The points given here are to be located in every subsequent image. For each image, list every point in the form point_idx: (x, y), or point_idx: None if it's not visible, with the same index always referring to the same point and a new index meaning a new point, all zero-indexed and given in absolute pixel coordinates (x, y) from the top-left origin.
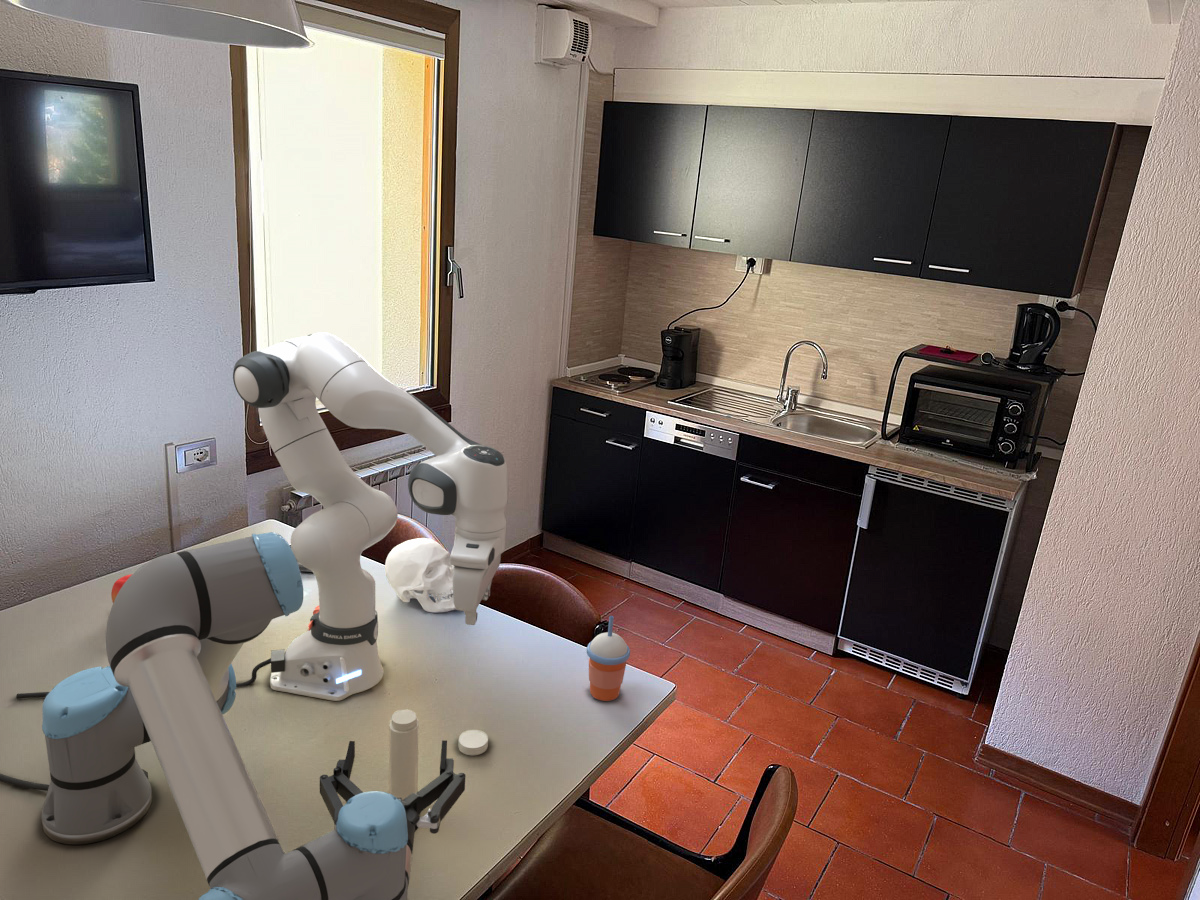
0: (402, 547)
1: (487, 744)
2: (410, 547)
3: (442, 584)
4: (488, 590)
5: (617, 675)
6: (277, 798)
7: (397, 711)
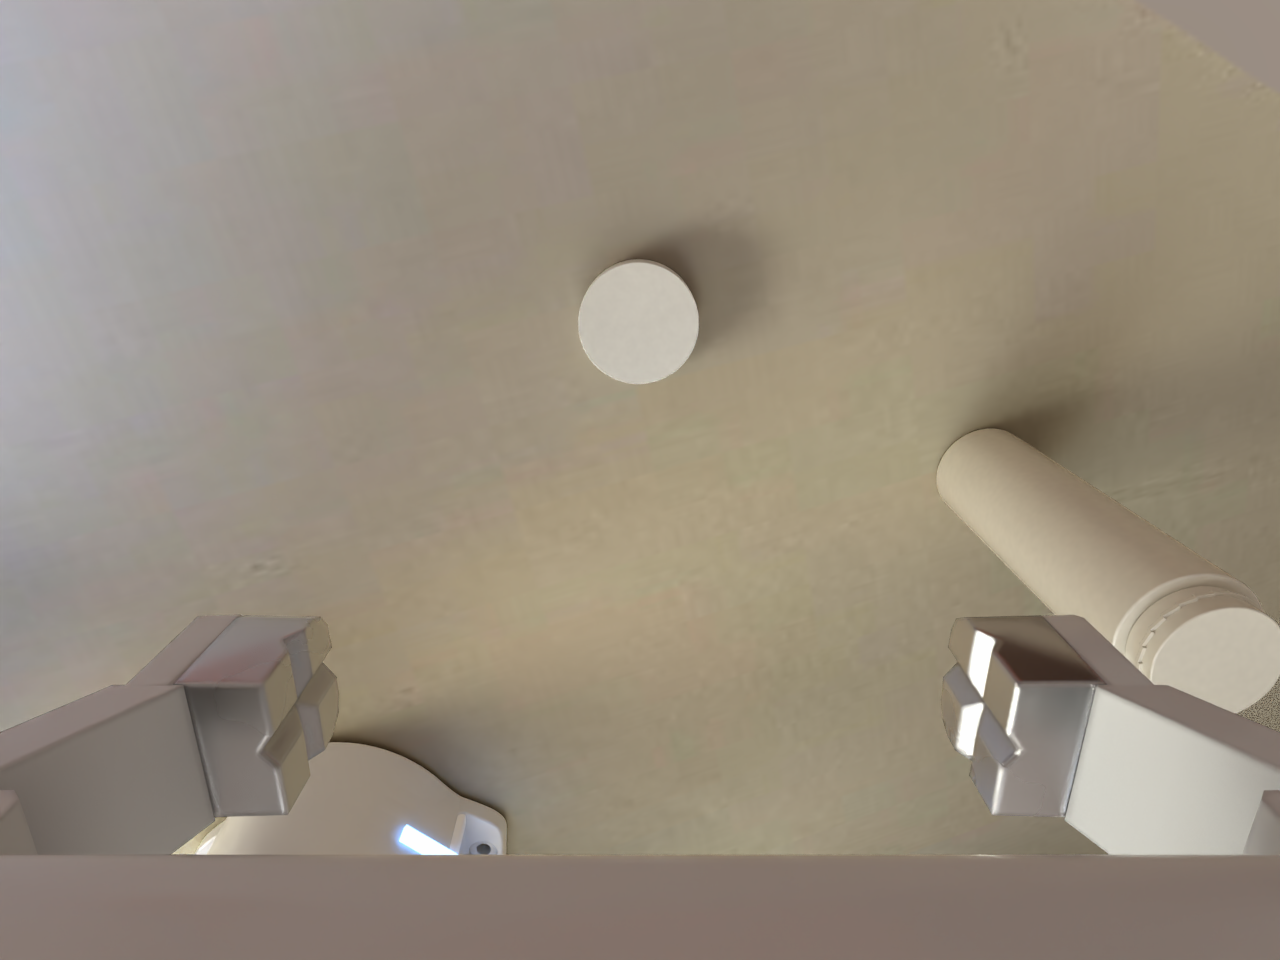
0: None
1: (640, 260)
2: None
3: None
4: (208, 689)
5: None
6: (977, 799)
7: None
